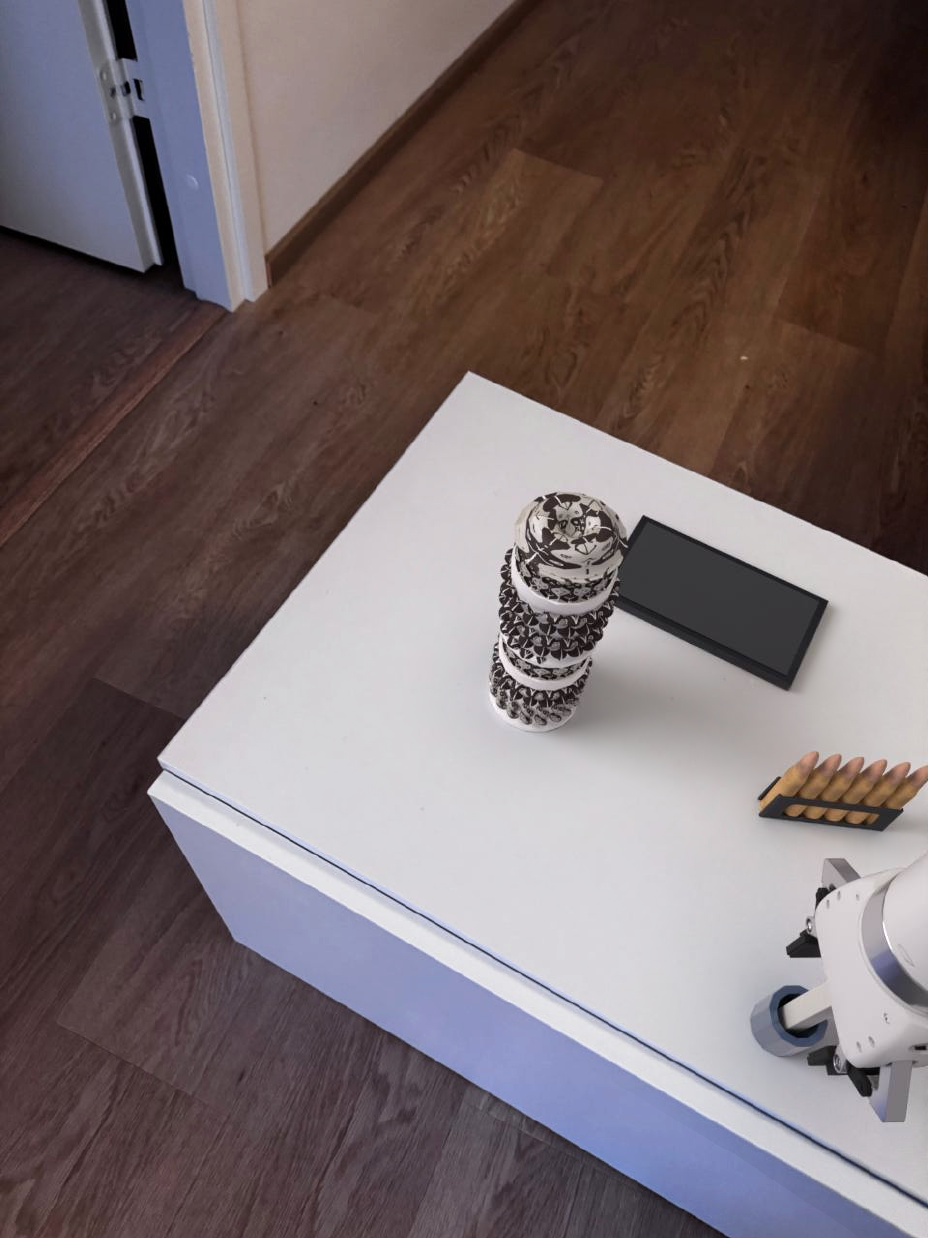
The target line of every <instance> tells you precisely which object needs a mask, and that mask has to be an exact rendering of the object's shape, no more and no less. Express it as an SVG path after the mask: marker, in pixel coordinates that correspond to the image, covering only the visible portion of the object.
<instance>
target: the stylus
mask: <svg viewBox="0 0 928 1238" xmlns="http://www.w3.org/2000/svg"><path fill="white" fill-rule="evenodd" d="M808 990H809V991H808V992H806V993H804V994H803V995H801V996H799V997H798V998H796V999H794V1000H792V1001H791V1002H789V1003H787V1004H786V1005H784V1006H782V1007H780V1008H779V1009H777V1014H778V1020H779V1023H780V1024H781V1026H782V1027H783V1028H784V1030H785V1031H786V1032H787V1033H789V1034H790V1035H795V1034H797V1033H799V1032H802V1031H804V1030H806V1029H808V1028H810V1027H812V1026H814V1025H816V1024H818V1023H820V1022H822V1021H824V1020H826V1019H827V1020H828V1019H830V1018H832V1017H834V1015H833V1011H832V1006H831V1001H830V997H829V992H828V987H827V982H826V980H825V981H823V982H822V983H819V984H818V985H816V986H815V987H813V988H811V989H808Z"/></svg>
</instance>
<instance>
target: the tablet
mask: <svg viewBox="0 0 928 1238" xmlns="http://www.w3.org/2000/svg"><path fill="white" fill-rule="evenodd" d="M627 546H628V548H627V550H626V552H625V555H624V557H623V559H622V562H621V564H620V565H619V566H618V567H617V568H618V573H617V577H618V578H619V580H620V588H619V589H618V590H617V591H618V593H619V598H618V600H617V602H616V603H614V604H612V605H613V607H614V608H617V609H620V610H622V611H623V612H626V613H628V614H630V615H632V616H634V617H636V618H638V619H640V620H641V621H644V622H646V623H648V624H650V625H652V626H654V627H656V628H658V629H660V630H661V631H664V632H666V633H668V634H670V635H672V636H675V637H676V638H679V639H681V640H683V641H685V642H686V643H689V644H690V645H692V646H695V647H697V648H700V649H701V650H702V651H705V652H707V653H709V654H711V655H713V656H715V657H717V658H719V659H721V660H724V661H725V662H728V663H729V664H731V665H733V666H735V667H737V668H740V669H742V670H744V671H746V672H748V673H750V674H752V675H754V676H756V677H758V678H760V679H762V680H764V681H766V682H768V683H770V684H772V685H774V686H776V687H778V688H781V689H783V690H785V691H787V692H788V691H789V690H790V688H791V687H792V686H793V683H794V681H795V679H796V676H797V675H798V672H799V670H800V667H801V665H802V664H803V661H804V658H805V656H806V654H807V653H808V652H807V651H808V649H809V648H810V645H811V643H812V641H813V638H814V636H815V634H816V632H817V629H818V627H819V625H820V622H821V620H822V618H823V616H824V613H825V611H826V609H827V607H828V603H829V602H830V601H829V600H828V599H826V598H824V597H822V596H819V595H817V594H815V593H813V592H811V591H809V590H807V589H804V588H802V587H800V586H798V585H796V584H794V583H791V582H790V581H788V580H785V579H783V578H780V577H779V576H776V575H774V574H772V573H770V572H768V571H765V570H764V569H761V568H759V567H757V566H755V565H753V564H750V563H748V562H746V561H745V560H742V559H739V558H738V557H735V556H734V555H731V554H729V553H727V552H725V551H722V550H720V549H719V548H717V547H714V546H711V545H709V544H707V543H705V542H704V541H701V540H699V539H697V538H695V537H692V536H690V535H687V534H685V533H683V532H681V531H679V530H677V529H675V528H672V527H670V526H668V525H666V524H664V523H662V522H660V521H657V520H655V519H654V518H651V517H649V516H647V515H645V514H642V516H641V517H640V519H639V521H638V522H637V524H636V526H635V527H634V528H633V530H632V532H631V534H630V535H629V537H628V538H627ZM606 602H607V600H606Z"/></svg>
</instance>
